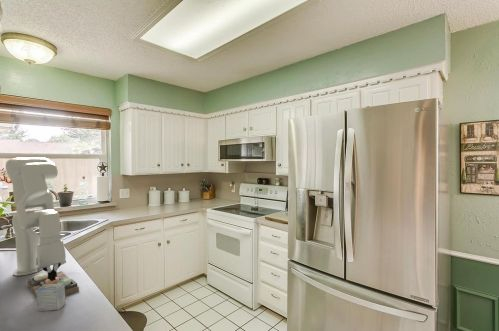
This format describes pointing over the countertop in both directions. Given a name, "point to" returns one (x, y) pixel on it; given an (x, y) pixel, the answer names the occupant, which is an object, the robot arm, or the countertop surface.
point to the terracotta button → (51, 281)
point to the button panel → (61, 275)
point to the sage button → (65, 281)
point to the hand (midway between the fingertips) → (52, 279)
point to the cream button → (40, 277)
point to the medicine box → (50, 297)
